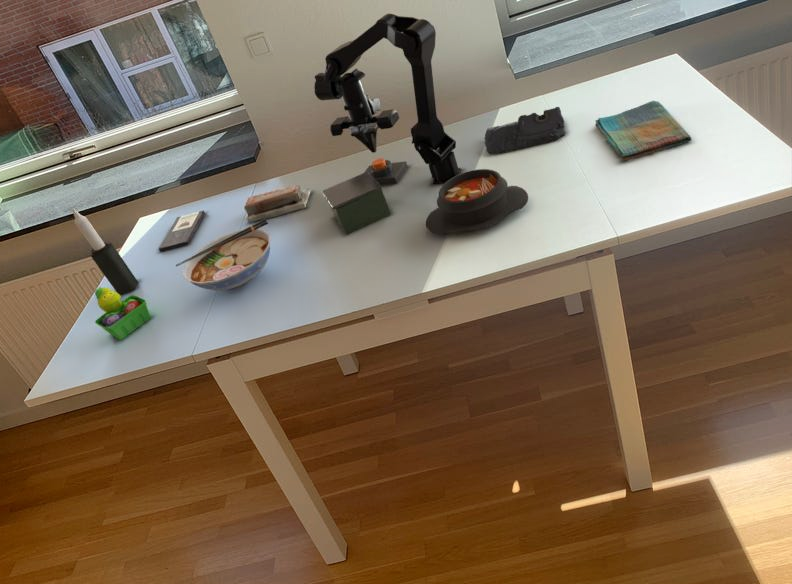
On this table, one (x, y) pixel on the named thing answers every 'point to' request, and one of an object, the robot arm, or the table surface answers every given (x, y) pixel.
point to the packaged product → (276, 203)
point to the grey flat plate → (350, 190)
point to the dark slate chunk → (525, 132)
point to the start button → (379, 164)
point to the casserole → (474, 202)
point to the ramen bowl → (229, 259)
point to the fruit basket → (120, 312)
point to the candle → (107, 258)
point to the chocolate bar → (182, 231)
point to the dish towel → (642, 130)
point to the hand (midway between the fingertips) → (374, 151)
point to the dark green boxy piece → (362, 211)
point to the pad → (388, 172)
